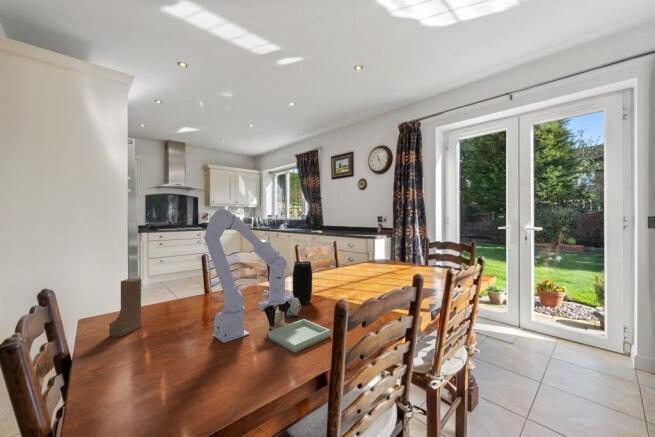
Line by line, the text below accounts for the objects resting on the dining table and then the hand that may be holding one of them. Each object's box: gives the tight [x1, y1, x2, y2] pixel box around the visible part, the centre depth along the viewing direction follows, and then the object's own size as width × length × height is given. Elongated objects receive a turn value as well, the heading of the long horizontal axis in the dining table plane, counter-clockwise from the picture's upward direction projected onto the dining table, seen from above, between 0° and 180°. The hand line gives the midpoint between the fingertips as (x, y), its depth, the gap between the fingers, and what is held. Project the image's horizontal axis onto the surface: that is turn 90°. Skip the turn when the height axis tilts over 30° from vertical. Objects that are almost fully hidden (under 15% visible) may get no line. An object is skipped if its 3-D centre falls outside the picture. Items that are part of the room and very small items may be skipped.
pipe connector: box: [261, 289, 269, 299], centre depth 130 cm, size 10×10×10 cm
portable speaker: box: [292, 260, 313, 305], centre depth 133 cm, size 9×9×20 cm
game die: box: [286, 297, 304, 318], centre depth 116 cm, size 9×8×10 cm
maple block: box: [268, 308, 285, 330], centre depth 103 cm, size 4×4×6 cm
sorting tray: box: [267, 318, 332, 354], centre depth 95 cm, size 16×14×2 cm
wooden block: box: [108, 277, 142, 338], centre depth 99 cm, size 9×4×18 cm, turn 173°
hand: (276, 324), depth 103 cm, fingers closed on maple block, 4 cm apart
